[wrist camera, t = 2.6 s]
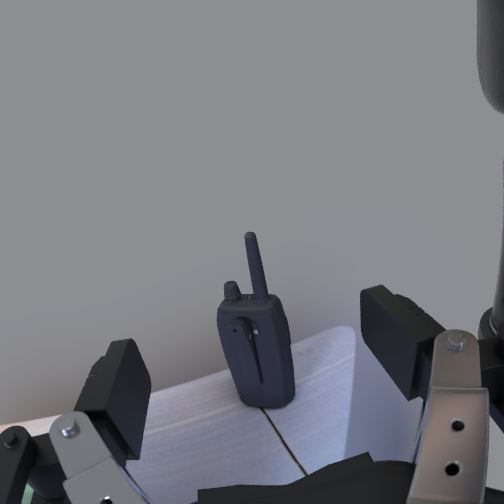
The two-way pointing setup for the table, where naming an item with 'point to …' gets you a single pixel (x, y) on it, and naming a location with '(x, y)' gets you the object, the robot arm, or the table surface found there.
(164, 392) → the table surface
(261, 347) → the two-way radio
